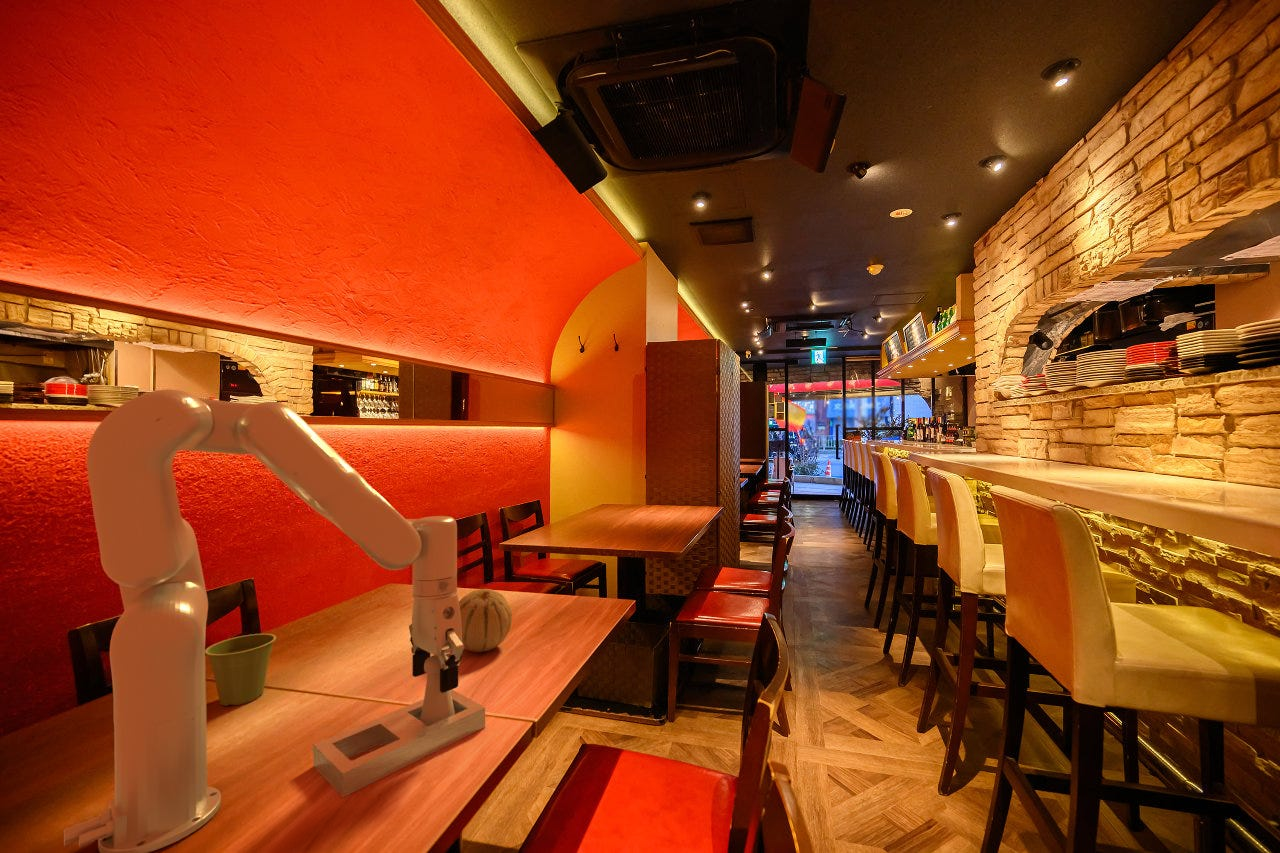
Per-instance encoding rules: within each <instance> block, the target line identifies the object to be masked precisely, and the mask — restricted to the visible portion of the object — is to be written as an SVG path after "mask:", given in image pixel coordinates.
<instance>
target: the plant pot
mask: <svg viewBox="0 0 1280 853" xmlns="http://www.w3.org/2000/svg"><path fill="white" fill-rule="evenodd" d="M276 639H277V636H276V635H275V634H272V633H254V634H252V633H251V634H248V635H247V634H246V635H241V636H235V637H232V638H231V637H230V638H227V639H224V640H222V641H218V642H217V643H213V644H212V645H210V646H208V647H207V648H205V656H206V655H207V656H208V660H209V663H210V665H211V668H212V671H213V677H214V681H215V686H216V691H217V695H218V701H219V704H220V705H221V706H224V707H228V706H229V705H233V706H240V705H243V704H246V703H249V702H252V701H254V700H257V699H258V698H259V697H260V695H263V694H264V690H265V685H266V680H267V672H268V667H269V661H270V657H271V652H272V650H273V644H274V642H275V641H276Z"/></svg>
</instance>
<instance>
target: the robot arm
mask: <svg viewBox="0 0 1280 853" xmlns="http://www.w3.org/2000/svg"><path fill="white" fill-rule="evenodd" d="M179 451H186V452H190V451H191V452H202V453H217V454H231V455H232V454H233V455H235V454H236V455H252V456H253V457H254V458H255V459H257V460H258V461H259V462H260V463H261V464H262V465H263V466H265V468H267V470H269V471H270V472H271V473H273V474H274V475H275V476H276V477H277V478H278V479H279V480H280V481H281V482H282V483H283V484H284V485H285V486H287V487H288V489H290V490H291V491H292V492H293V493H295V494H296V496H298V497H299V499H300V500H302V502H303V503H305V504H306V505H308V506H309V507H310V508H311V509H312V510H313V511H315V512H316V513H317V514H319V515H321V516H322V517H324V518H325V519H327V520H328V521H330V522H331V523H333V525H335V526H336V527H337V528H339V530H340V531H341V532H342V533H344V534H345V535H346V536H348V538H350V539H351V541H353V542H354V543H355V544H356V545H357V546H358V547H359V548H360V549H362V551H363V552H365V554H366V555H367V556H368V557H369V558H370V559H371V560H372V561H374V562H376V564H377V565H378V566H380V567H382V568H383V569H386V570H389V571H399V570H403V569H406V568H408V567H410V566H412V591H411V592H412V598H413V602H412V613H411V614H412V615H411V623H410V624H409V625H408V630H409V634H410V638H409V642H410V643H411V649H410V651H411V654H412V663H411V664H412V670H411V672H412V676H413V677H414V678H417V677H419V676H422V675H426V674H427V673H426V672H425V671H424V663H425V660H426V659H427V658H429V657H431V654H432V656H433V655H436V656H438V657H439V660H440V662H441V665H442V669H440V692H442V693H444V692H447V691H449V690H454V689H456V688H458V687H459V666H460V665H461V660H462V658H463V652H464V650H465V649H464V645H463V644H462V628H461V614H460V606H459V601H460V600H459V596H458V594H457V593H458V551H457V550H458V524H457V521H456V518H455V519H454V518H453V517H452V516H448V515H447V516H446V515H436V516H435V515H434V516H432V515H431V516H425V517H420V518H405V517H404V516H403V515H402V514H401V513H399V511H398V510H396V509H395V507H394V506H392V504H390V503H389V502H388V500H386V499H385V498H384V497H383V496H382V495H381V493H379V492H377V490H376V489H374V488H373V487H372V486H371V484H369V483H368V482H367V481H366V480H365V479H364V477H363V476H362V475H360V473H359V472H358V471H357V470H356V469H354V467H352V466H351V465H350V464H349V463H348V462H347V461H346V460H345V459H344V458H343V457H342V456H341V455H340V454H339V453H338V452H337V451H336V450H335V449H334V448H333V447H332V446H331V445H330V444H329V443H328V442H327V441H326V440H325V439H324V438H323V437H322V436H321V435H320V434H319V433H318V432H316V430H314V429H313V428H312V427H311V425H310V424H308V423H307V422H306V420H304V419H303V418H302V417H301V416H300V415H299V414H298V413H297V412H296V411H295V410H294V409H292V408H291V407H289V406H288V405H286V404H284V403H280V402H277V401H263V402H259V403H245V402H244V403H243V402H232V401H226V400H219V399H217V400H216V399H210V398H209V399H208V398H200V397H196V396H195V395H193V394H192V393H188V392H186V391H183V390H177V389H161V390H159V389H158V390H157V389H156V390H154V391H153V390H152V391H149V392H147V393H142V394H140V395H138V396H136V397H134V398H132V399H130V400H127V401H126V402H125V403H122V404H121V405H120V406H118V407H116V408H115V409H114V410H113V411H111V412H110V413H109V414H108V415H107V416H105V417H104V419H102V421H101V422H100V423H99V425H98V426H97V427H96V428H95V431H94V432H93V434H92V436H91V438H90V440H89V444H88V447H87V453H86V471H87V472H86V473H87V480H88V486H89V490H90V496H91V503H92V511H93V512H92V513H93V518H94V523H95V524H94V525H95V529H96V533H97V540H98V546H99V555H100V563H101V566H102V569H103V571H104V572H105V574H106V575H107V577H108V578H109V579H111V580H112V581H113V582H114V583H115V584H118V586H119V590H120V596H121V601H122V605H123V609H124V610H123V613H122V614H121V615H120V617H119V618H118V620H117V622H116V623H115V626H114V628H113V630H112V634H111V639H110V643H109V662H110V670H111V680H112V695H113V698H112V699H113V725H114V728H113V730H114V731H113V732H114V733H113V738H114V740H113V741H114V744H113V746H114V749H113V750H114V753H113V754H114V756H113V757H114V799H112V800H110V801H108V802H109V803H108V804H109V806H108V808H107V809H106V810H103V811H101V812H99V813H98V816H96V817H94V818H91V819H89V820H86V821H81V822H79V823H76V824H73V825H70V826H68V827H66V828H64V829H63V846H64V847H66V846H68V845H70V844H73V843H75V842H77V841H78V847H79V848H82V847H84V846H87V845H89V844H92V843H94V842H95V841H97V840H98V841H97V849H98V852H99V853H151V852H154V851H156V850H160V849H163V848H165V847H167V846H169V845H171V844H174V843H176V842H178V841H180V840H182V839H184V838H186V837H188V836H190V835H191V834H192V833H195V832H196V831H197V830H198V829H200V828H201V827H202V826H204V825H205V824H207V823H208V822H209V821H210V820H211V819H212V818H213V817H214V816H215V814H216V813H217V812H218V810H219V809H220V806H221V803H222V794H221V792H220V791H219V789H217V788H215V787H213V786H208V754H207V751H208V750H207V749H208V748H207V747H208V745H207V743H208V742H207V739H208V738H207V736H208V735H207V734H208V733H207V732H208V731H207V683H206V682H207V680H206V678H207V677H206V676H207V675H206V673H207V672H206V669H207V668H206V654H205V650H206V631H207V630H206V628H207V622H208V621H207V620H208V611H209V601H208V600H209V599H208V598H209V597H208V594H207V590H206V584H205V583H206V582H205V578H204V573H203V568H202V567H203V566H202V562H201V557H200V551H199V548H198V542H197V538H196V534H195V530H194V529H193V527H192V526H191V524H190V523H189V522H188V521H187V520H186V519H184V518H183V517H182V513H181V509H180V503H179V499H178V490H177V485H176V480H175V476H174V471H173V463H174V459H175V457H176V455H177V453H178V452H179ZM449 654H450V655H449ZM445 655H446V656H447V655H449V657H448V660H446V657H445Z"/></svg>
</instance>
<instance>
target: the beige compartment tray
mask: <svg viewBox="0 0 1280 853" xmlns="http://www.w3.org/2000/svg"><path fill="white" fill-rule="evenodd" d="M450 691H451V696H452V701H453V706H454V711H455V714H454V715H452V716H450V717H448V718H446V719H443V720H441V721H439V722H437V723H435V724H432V725H430V726H427V725H426V724H424V723H423V722H421V721H420V719H421V713H422V707H423V702H424V698H423V699H421V700H418V701H415V702H413V703H411V704H408V705H407V706H403V707H401V708H400V709H395V710H394V711H392V712H389V713H386V714H384V715H382V716H379V717H377V718H374V719H372V720H370V721H367V722H365V723H361V724H360V725H357V726H355V727H353V728H349V729H347V730H345V731H343V732H340V733H337V734H334V735H333V736H331V737H328V738H325V739H322V740H320V741H318V742H316V743H315V742H314V744H313V747H312V748H313V767H314V768H315V769H316V770H317V772H318V773H319V774H320V775H322V777H323V778H324V779H325V780H326V781H327V782H328V783H329V784H330V785H331V786H332V787H333V789H334V790H335V791H336V792H337V793H338V794H339V795H340V796H341V797H342V798H345V797H348V795H351V794H352V793H354V792H357V791H359V790H361V789H363V788H364V787H367V786H369V785H371V784H373V783H375V782H377V781H379V780H381V779H383V778H385V777H387V776H389V775H391V774H393V773H395V772H397V771H400V770H402V769H404V768H405V767H408V766H410V765H411V764H413V763H416V762H417V761H419V760H422V759H423V758H425V757H427V756H430V755H431V754H434V753H436V752H438V751H440V750H441V749H444V748H446V747H448V746H450V745H452V744H454V743H456V742H459V741H460V740H462V739H464V738H467V737H468V736H471V735H472V734H474V733H476V732H479V731H480V730H482V729H484V728H486V707H485V706H483V705H481V704H480V703H478V702H475V701H474V700H472V699H470V698H468V697H467V696H464V695H463V694H462V693H459V692H457V691H456V690H454V689H452V690H450ZM379 745H381V747H379V748H377V749H375V750H372V751H370V752H369V753H366V754H364V755H361V756H359V757H357V758H355V759H352V760H351V759H350V758H352V757H354V756H356V755H359V754H361V753H363V752H365V751H368V750H370V749H373V748H375V747H377V746H379Z"/></svg>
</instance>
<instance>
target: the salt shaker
mask: <svg viewBox="0 0 1280 853" xmlns="http://www.w3.org/2000/svg"><path fill="white" fill-rule="evenodd" d="M445 657H446V660H448V658H449V657H448V656H447V654H446V655H445ZM440 669H442V665H441V662H440V660H439V657H438V656H436V655H433V654H432V655H430V657H429V658H427V659H426V660H425V663H424V671H425V672H426V674H427V676H426V684H425V690H424V697H423V699H424V702H423V707H422V713H421V719H420V721H421V722H423V723H424V724H426V725H427V726H430V725H432V724H435V723H437V722H439V721H441V720H443V719H446V718H448V717H450V716H452V715H454V714H455V711H454V706H453V701H452V696H451V691H450V690H449V691H447V692H444V693H442V692H440Z"/></svg>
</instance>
